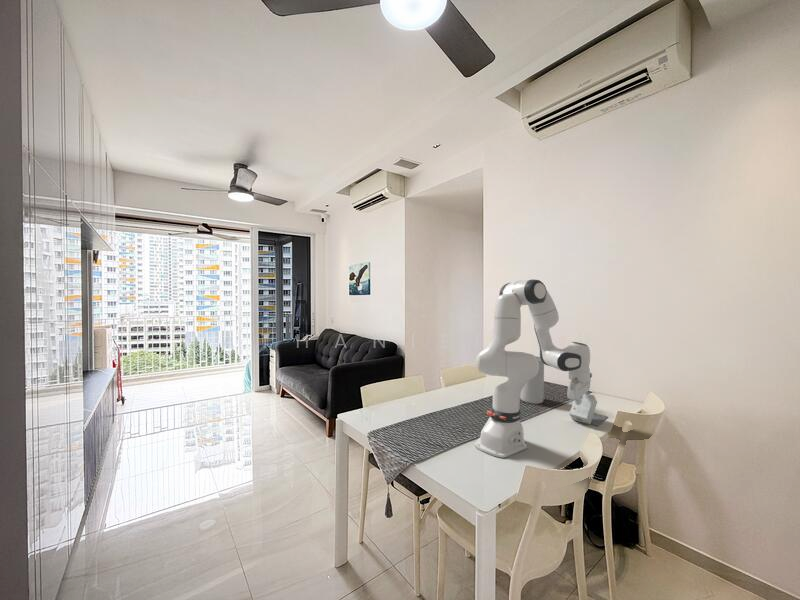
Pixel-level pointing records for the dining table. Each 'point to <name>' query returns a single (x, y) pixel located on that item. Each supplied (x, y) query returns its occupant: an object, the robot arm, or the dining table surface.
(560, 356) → the robot arm
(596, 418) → the mat
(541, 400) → the cylinder vase
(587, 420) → the small box
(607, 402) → the dining table surface
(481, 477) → the dining table surface
